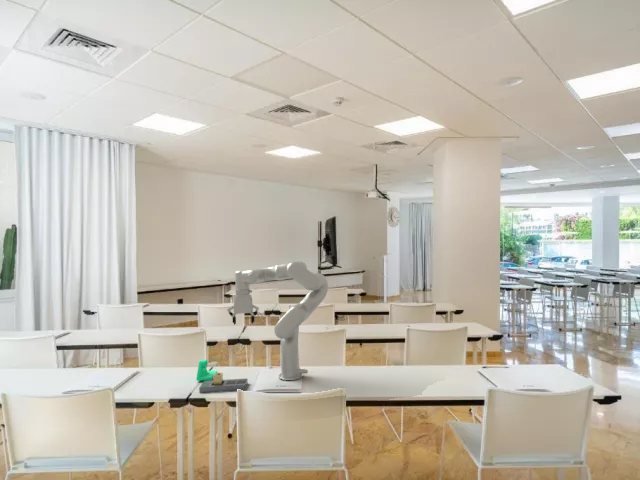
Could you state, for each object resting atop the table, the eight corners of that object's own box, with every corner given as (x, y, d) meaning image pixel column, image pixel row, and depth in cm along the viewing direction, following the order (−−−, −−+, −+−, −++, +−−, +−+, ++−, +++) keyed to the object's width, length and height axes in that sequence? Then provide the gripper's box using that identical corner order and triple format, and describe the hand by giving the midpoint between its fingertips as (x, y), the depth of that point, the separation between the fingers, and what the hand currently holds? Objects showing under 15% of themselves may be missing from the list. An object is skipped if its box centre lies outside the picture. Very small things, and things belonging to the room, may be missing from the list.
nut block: (223, 386, 196) (222, 372, 196) (221, 389, 192) (221, 374, 192) (214, 387, 195) (214, 372, 196) (213, 390, 191) (213, 375, 192)
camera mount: (210, 382, 204) (210, 362, 204) (196, 382, 204) (196, 363, 205) (217, 375, 216) (217, 356, 216) (204, 375, 216) (203, 356, 217)
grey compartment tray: (247, 383, 199) (247, 378, 199) (245, 390, 189) (244, 384, 190) (204, 385, 198) (204, 380, 198) (199, 392, 188) (199, 387, 188)
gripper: (259, 291, 219) (260, 321, 219) (228, 292, 218) (229, 323, 217) (257, 292, 212) (258, 324, 211) (225, 294, 211) (226, 325, 210)
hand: (243, 323), depth 214 cm, fingers open, 9 cm apart
